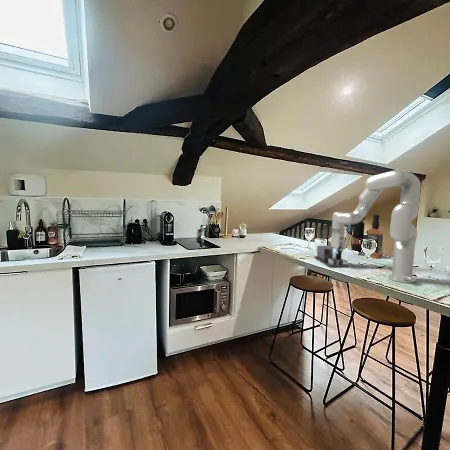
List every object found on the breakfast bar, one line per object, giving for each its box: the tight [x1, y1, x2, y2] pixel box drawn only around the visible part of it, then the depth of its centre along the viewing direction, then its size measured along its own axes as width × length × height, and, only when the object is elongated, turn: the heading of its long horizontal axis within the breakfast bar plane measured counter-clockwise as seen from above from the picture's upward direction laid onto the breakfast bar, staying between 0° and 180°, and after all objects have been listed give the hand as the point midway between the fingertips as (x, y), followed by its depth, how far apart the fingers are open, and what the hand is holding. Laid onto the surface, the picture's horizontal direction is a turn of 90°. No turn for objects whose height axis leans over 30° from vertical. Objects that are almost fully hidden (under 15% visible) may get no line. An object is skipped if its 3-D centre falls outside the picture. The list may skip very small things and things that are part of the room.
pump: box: [332, 248, 340, 261], centre depth 180 cm, size 5×5×9 cm
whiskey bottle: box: [366, 214, 385, 260], centre depth 207 cm, size 10×10×32 cm
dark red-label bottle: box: [350, 216, 366, 254], centre depth 216 cm, size 14×9×30 cm
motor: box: [314, 245, 349, 269], centre depth 191 cm, size 29×12×10 cm, turn 4°
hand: (336, 258), depth 181 cm, fingers closed on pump, 5 cm apart
